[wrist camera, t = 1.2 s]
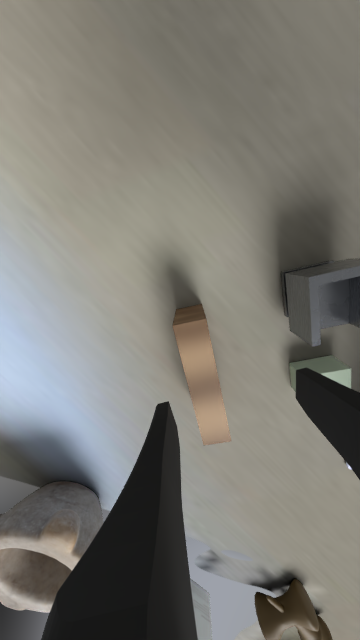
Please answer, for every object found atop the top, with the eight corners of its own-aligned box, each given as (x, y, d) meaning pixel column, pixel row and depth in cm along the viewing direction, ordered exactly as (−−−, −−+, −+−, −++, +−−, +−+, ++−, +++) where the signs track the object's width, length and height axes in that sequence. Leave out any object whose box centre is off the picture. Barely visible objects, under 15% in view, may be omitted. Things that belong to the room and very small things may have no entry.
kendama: (290, 619, 44) (239, 580, 39) (331, 604, 42) (282, 562, 37) (307, 673, 38) (249, 635, 33) (354, 659, 36) (301, 617, 31)
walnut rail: (222, 402, 27) (231, 441, 21) (200, 405, 27) (203, 445, 21) (201, 303, 23) (206, 318, 17) (176, 309, 23) (172, 325, 17)
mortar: (4, 466, 32) (-65, 545, 23) (103, 457, 30) (69, 537, 22) (44, 532, 37) (-1, 617, 28) (131, 527, 35) (112, 616, 27)
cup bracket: (335, 313, 22) (385, 332, 17) (281, 324, 23) (312, 346, 17) (334, 258, 21) (390, 258, 15) (276, 272, 21) (308, 277, 16)
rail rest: (332, 379, 25) (350, 395, 22) (291, 386, 25) (304, 403, 23) (331, 355, 24) (351, 368, 21) (289, 363, 24) (302, 377, 22)
